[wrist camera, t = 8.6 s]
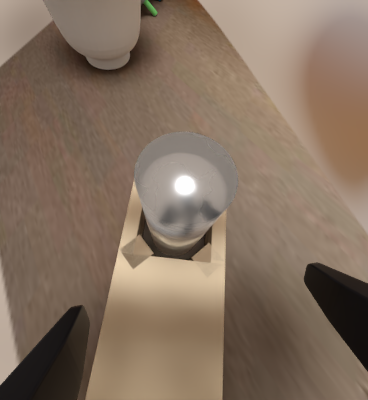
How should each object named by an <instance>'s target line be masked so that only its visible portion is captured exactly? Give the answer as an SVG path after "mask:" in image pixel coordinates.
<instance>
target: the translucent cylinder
mask: <svg viewBox="0 0 368 400" xmlns="http://www.w3.org/2000/svg"><path fill="white" fill-rule="evenodd" d="M134 180H135V186H136V189H137V192H138V195H139V199H140V202H141V205H142V208H143V212H144V215H145V218H146V221H147V225H148V228H149V231H150V234H151V237H152V241H153V243H154V245H155V246H156V248H157V249H158V250H159V251H161V252H162V253H164V254H166V255H170V256H180V255H183V254H185V253H187V252H189V251H190V250H191V249H192V248H193V247H194V246H195V245H196V243H197V242H198V241H199V240H200V239H201V238H202V236H203V235H204V234H205V233H206V232H207V231H208V230H209V228H210V227H211V226H212V225H213V224H214V223H215V222H216V220H217V219H218V218H219V217H220V216H221V215H222V213H223V212H224V211H225V210H226V209H227V208H228V206H229V205H230V204H231V202H232V201H233V199H234V197H235V194H236V192H237V187H238V173H237V169H236V166H235V163H234V161H233V159H232V158H231V156H230V155H229V153H228V152H227V151H226V150H225V149H224V148H223V147H222V146H221V145H220V144H219V143H217V142H216V141H214V140H213V139H211V138H209V137H206V136H204V135H201V134H198V133H193V132H174V133H169V134H166V135H163V136H161V137H159V138H157V139H155V140H153V141H152V142H151V143H149V144H148V145H147V146H146V147H145V148H144V150H143V151H142V152H141V154H140V155H139V157H138V159H137V162H136V165H135V171H134Z"/></svg>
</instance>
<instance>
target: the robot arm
mask: <svg viewBox="0 0 368 400" xmlns="http://www.w3.org/2000/svg"><path fill="white" fill-rule="evenodd" d="M304 282H305V285H306V286H307V288H308V289H309V291H310V292H311V294H312V296H313V297H314V299H315V300H316V302H317V303H318V305H319V306H320V308H321V309H322V311H323V313H324V314H325V316H326V317H327V319H328V320H329V321H330V323H331V324H332V325H333V327H334V328H335V329H336V331H337V332H338V333H339V335H340V336H341V337H342V339H343V340H344V341H345V343H346V344H347V345H348V346H349V348H350V349H351V350H352V352H353V353H354V354H355V356H356V357H357V358H358V359H359V361H360V362H361V363H362V365H363V366H364V367H365V369H366V370H367V371H368V283H365V282H363V281H361V280H358V279H356V278H354V277H351V276H349V275H346V274H344V273H342V272H339V271H337V270H335V269H332V268H330V267H328V266H325V265H323V264H320V263H311V264H308V265H307V267H306V271H305V276H304ZM89 327H90V322H89V318H88V315H87V312H86V309H85V307H84V306H83V305H79V306H74V307H71V308H70V309H69V310H68V311H67V312H66V313H65V314H64V315H63V316H62V317H61V318H60V320H59V321H58V322H57V323H56V324H55V325H54V326H53V327H52V328H51V330H50V331H49V332H48V333H47V334H46V335H45V336H44V337H43V338H42V340H41V341H40V342H39V343H38V344H37V345H36V346H35V347H34V348H33V350H32V351H31V352H30V353H29V354H28V355H27V356H26V357H25V358H24V360H23V361H22V362H21V363H20V364H19V365H18V366H17V367H16V368H15V370H14V371H13V372H12V373H11V374H10V375H9V376H8V377H7V379H6V380H5V381H4V382H3V383H2V384H1V385H0V400H77V397H78V393H79V389H80V384H81V380H82V375H83V369H84V362H85V355H86V348H87V341H88V334H89Z"/></svg>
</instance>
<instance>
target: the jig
mask: <svg viewBox="0 0 368 400" xmlns="http://www.w3.org/2000/svg"><path fill="white" fill-rule="evenodd" d="M144 224H145V215H144V212H143V208H142V205H141V202H140V199H139V195H138V192H137V189H136V186H135V180H134V183H133V188H132V192H131V197H130V201H129V206H128V210H127V215H126V219H125V223H124V228H123V232H122V237H121V241H120V246H119V250H118V255H117V259H116V264H115V268H114V273H113V277H112V282H111V286H110V291H109V295H108V300H107V304H106V309H105V313H104V318H103V322H102V327H101V331H100V336H99V340H98V345H97V349H96V354H95V358H94V363H93V367H92V372H91V376H90V380H89V385H88V389H87V394H86V398H85V400H222V394H223V345H224V295H225V246H226V210H225V211H224V212H223V213H222V215H221V216H220V217H219V218H218V219H217V220H216V222H215V223H214V224H213V225H212V226H211V227H210V228H209V230H208V231H207V232H206V233H205V247H203V248H202V249H201V250H200V251H199V252H198V253H196V254H195V255H194V256H193V257H192V258H190V259H189V260H181V259H172V258H163V257H155V255H154V253H153V252H152V251H151V249H150V248H149V246H148V245H147V244H146V242H145V241H144V240H143V238H142V234H143V229H144Z"/></svg>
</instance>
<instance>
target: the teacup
mask: <svg viewBox="0 0 368 400" xmlns="http://www.w3.org/2000/svg"><path fill="white" fill-rule="evenodd" d="M43 1H44V3H45V5H46V7H47V9H48V11H49V13H50V15H51V16H52V18H53V20H54V22H55V24H56V25H57V27H58V29H59V30H60V32H61V34H62V35H63V37H64V38H65V40H66V41H67V42H68V43H69V45H70V46H71V47H72V48H73V49H75V50H76V51H77V52H79V53H80V54H82V55H84V56H86V59H87V61H88V62H89V63H90V64H91V65H92V66H94V67H96V68H99V69H104V70H112V69H117V68H120V67H122V66H124V65H125V64H126V63H127V62H128V61H129V59H130V51H131V50H132V49H133V48H134V46H135V45H136V43H137V40H138V37H139V32H140V20H141V0H43Z"/></svg>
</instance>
